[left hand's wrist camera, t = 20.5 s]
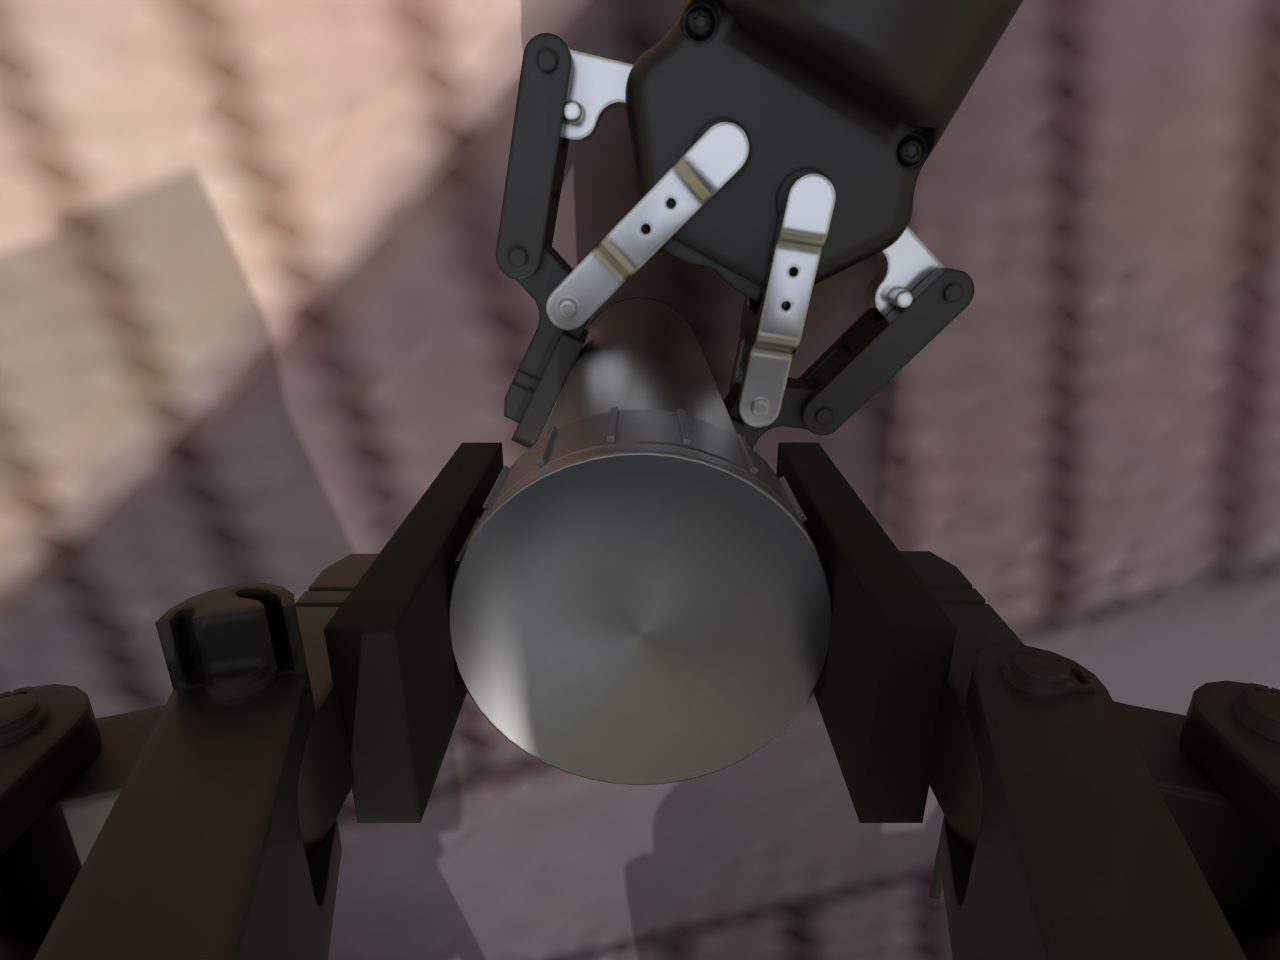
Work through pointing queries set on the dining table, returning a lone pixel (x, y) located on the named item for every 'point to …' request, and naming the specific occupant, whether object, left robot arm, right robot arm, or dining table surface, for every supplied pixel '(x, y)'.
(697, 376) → the brown cylinder
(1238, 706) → the left robot arm
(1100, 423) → the dining table surface
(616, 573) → the lid
